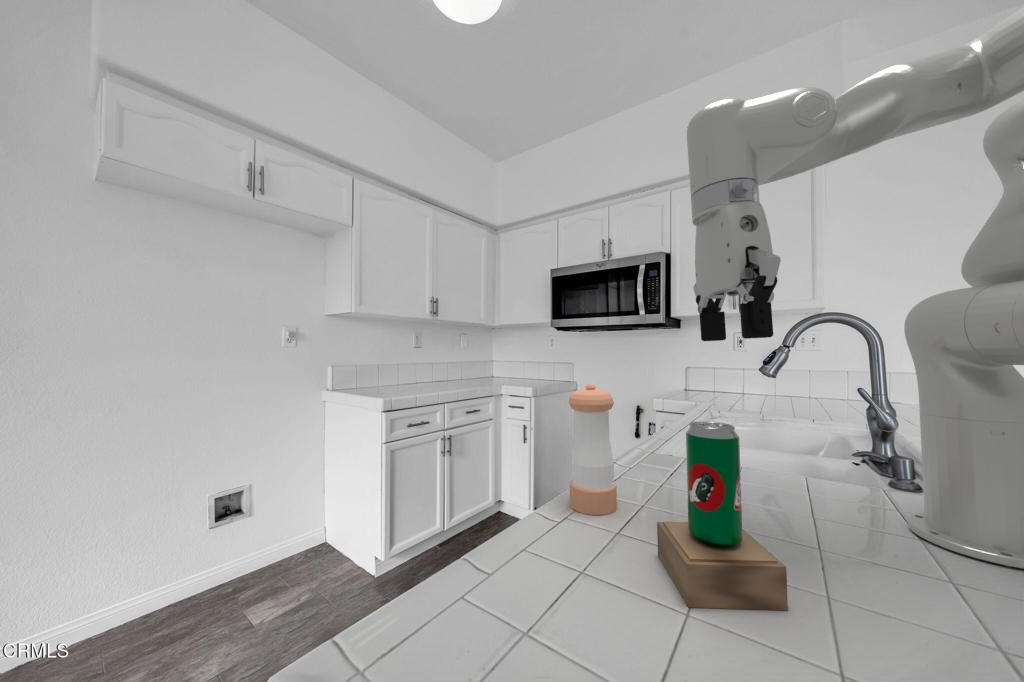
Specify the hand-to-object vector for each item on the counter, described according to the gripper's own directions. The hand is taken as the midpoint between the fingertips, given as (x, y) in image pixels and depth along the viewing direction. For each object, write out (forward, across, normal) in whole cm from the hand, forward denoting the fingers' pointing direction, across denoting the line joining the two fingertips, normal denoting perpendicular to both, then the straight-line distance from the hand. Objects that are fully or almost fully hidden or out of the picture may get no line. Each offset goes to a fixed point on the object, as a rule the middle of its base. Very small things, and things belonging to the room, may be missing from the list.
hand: (733, 339), depth 47 cm
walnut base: (+25, -7, +8) cm, 27 cm away
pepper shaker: (+25, +12, +17) cm, 33 cm away
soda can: (+21, -7, +7) cm, 24 cm away
